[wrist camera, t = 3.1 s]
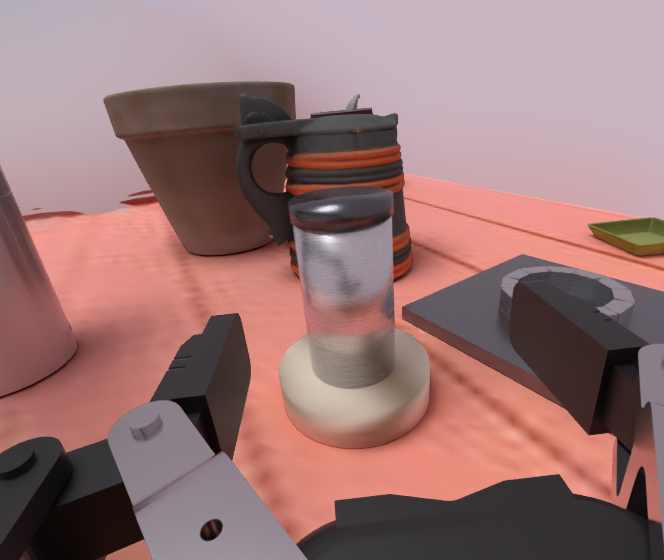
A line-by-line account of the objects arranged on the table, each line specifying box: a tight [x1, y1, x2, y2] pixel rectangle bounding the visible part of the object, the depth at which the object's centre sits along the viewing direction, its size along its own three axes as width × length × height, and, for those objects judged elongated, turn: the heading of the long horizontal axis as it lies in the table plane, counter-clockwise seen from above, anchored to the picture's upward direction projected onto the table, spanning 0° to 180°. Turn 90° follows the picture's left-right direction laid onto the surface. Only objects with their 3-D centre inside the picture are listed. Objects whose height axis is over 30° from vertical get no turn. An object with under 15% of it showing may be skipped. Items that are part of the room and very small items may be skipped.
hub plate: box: [402, 254, 664, 436], centre depth 31 cm, size 18×18×3 cm
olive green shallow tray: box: [588, 218, 664, 256], centre depth 45 cm, size 9×9×2 cm
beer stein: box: [234, 94, 412, 280], centre depth 43 cm, size 19×15×20 cm
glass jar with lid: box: [288, 186, 395, 389], centre depth 23 cm, size 6×6×11 cm
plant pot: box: [104, 81, 296, 255], centre depth 57 cm, size 25×25×22 cm
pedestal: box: [279, 328, 430, 449], centre depth 26 cm, size 10×10×2 cm
